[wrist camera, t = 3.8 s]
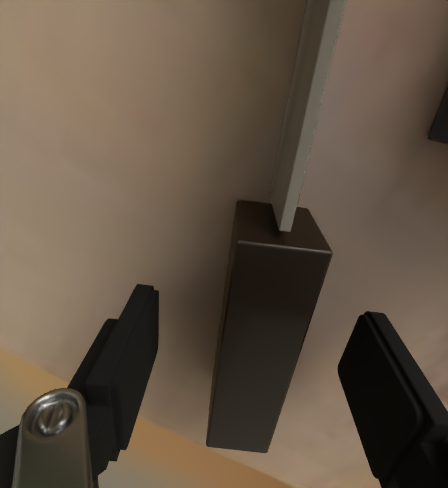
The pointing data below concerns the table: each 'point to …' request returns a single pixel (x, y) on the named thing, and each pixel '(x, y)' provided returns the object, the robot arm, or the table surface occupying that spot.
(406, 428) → the robot arm
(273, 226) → the table knife
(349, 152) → the table surface
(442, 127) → the board
